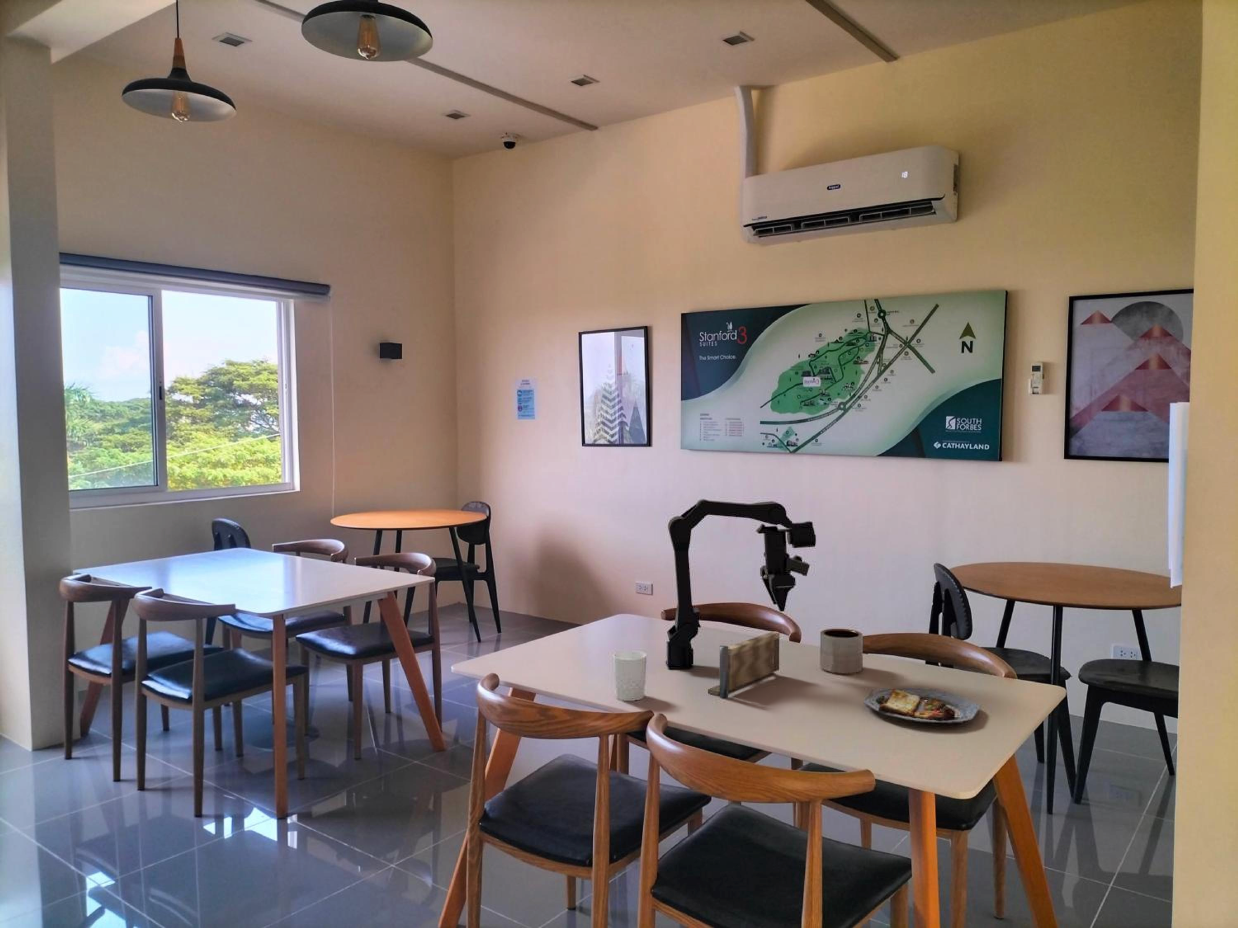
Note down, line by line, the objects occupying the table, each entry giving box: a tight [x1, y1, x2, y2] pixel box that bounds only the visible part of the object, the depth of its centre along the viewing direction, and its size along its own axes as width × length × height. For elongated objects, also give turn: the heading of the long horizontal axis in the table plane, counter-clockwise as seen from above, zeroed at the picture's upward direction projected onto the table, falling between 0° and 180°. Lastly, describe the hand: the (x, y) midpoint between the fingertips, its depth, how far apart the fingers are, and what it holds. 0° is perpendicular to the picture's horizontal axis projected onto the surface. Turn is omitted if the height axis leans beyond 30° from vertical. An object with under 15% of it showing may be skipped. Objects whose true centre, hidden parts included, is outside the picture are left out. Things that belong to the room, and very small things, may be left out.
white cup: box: [612, 650, 647, 702], centre depth 203 cm, size 8×8×10 cm
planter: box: [819, 628, 864, 675], centre depth 225 cm, size 11×11×10 cm
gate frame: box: [707, 645, 775, 699], centre depth 212 cm, size 26×6×12 cm, turn 139°
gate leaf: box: [728, 630, 781, 690], centre depth 212 cm, size 22×2×10 cm, turn 139°
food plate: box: [863, 686, 981, 725], centre depth 192 cm, size 25×23×4 cm
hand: (778, 607), depth 228 cm, fingers open, 9 cm apart
